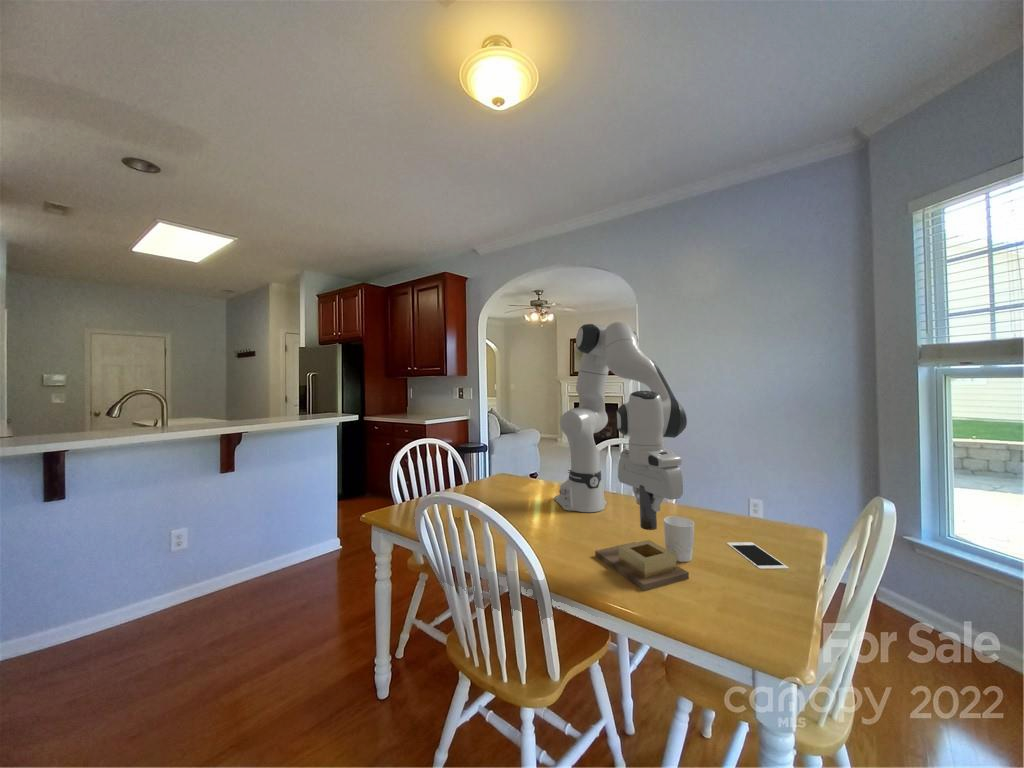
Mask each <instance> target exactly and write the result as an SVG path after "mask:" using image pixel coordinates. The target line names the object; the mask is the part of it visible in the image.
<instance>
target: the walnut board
mask: <svg viewBox="0 0 1024 768" xmlns="http://www.w3.org/2000/svg"><path fill="white" fill-rule="evenodd" d="M632 543H637V541H636V542H635V541H633V542H628V543H624V544H620V545H619V544H618V545H616V546H611V547H606V548H601V549H597V550H595V551H594V556H595V557H596V558H597V559H599V560H600V561H602V562H603V563H604V564H606V565H607V566H608V567H610V568H612V569H613V570H614V571H616V572H617V573H619V574H620V575H621V576H623V577H624V578H625V579H627V580H628V581H629V582H631V583H632V584H634V585H635V586H636V587H638V588H639V589H641V590H642V591H645V592H646V591H648V590H652V589H655V588H659V587H663V586H666V585H670V584H674V583H677V582H681V581H684V580H685V581H686V580H689V579H690V573H689V571H687V570H685V569H684V568H682V567H680V566H678V565H676V571H673V572H669V573H665V574H661V575H658V576H654V577H650V578H646V579H644V578H643V577H641V576H640V575H638V574H637V573H635V572H634V571H632V570H631V569H629V568H628V567H626V566H625V565H624V564H622V563H621V562H619V546H623V545H627V544H632Z"/></svg>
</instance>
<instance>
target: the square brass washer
mask: <svg viewBox="0 0 1024 768" xmlns="http://www.w3.org/2000/svg"><path fill="white" fill-rule="evenodd" d="M631 543H632V544H628V543H626V544H627V545H624V544H622V545H623V546H619V545H618V546H619V562H621V563H622V564H624V565H625V566H626V567H628V568H629V569H631V570H632V571H634V572H635V573H637V574H638V575H640V576H641V577H643V578H644V579H646V578H650V577H654V576H658V575H661V574H665V573H669V572H673V571H676V566H677V561H676V554H674V553H672V552H670V551H668V550H666V548H664V547H663V546H661V545H659V544H657V543H655V542H653V541H651V540H650V539H647V540H642V541H638V542H637V541H636V543H633V542H631Z"/></svg>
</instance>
